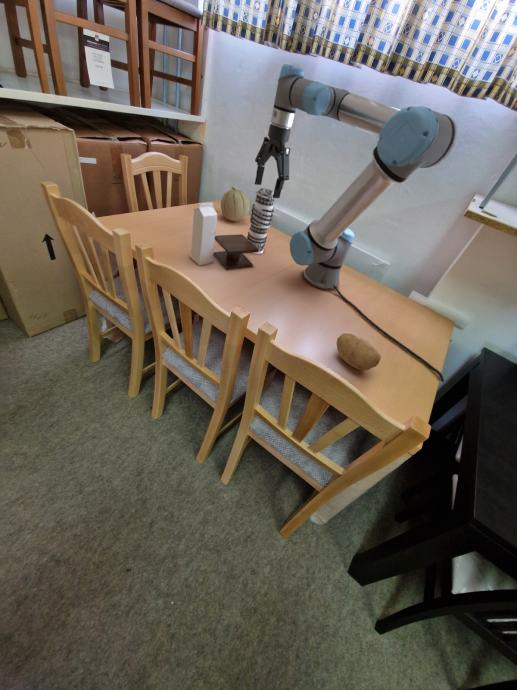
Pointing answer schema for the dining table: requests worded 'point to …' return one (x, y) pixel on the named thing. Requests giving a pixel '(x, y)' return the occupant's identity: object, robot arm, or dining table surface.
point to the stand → (234, 251)
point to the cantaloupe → (235, 205)
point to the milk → (203, 233)
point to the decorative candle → (261, 218)
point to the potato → (357, 352)
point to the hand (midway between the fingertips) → (266, 191)
